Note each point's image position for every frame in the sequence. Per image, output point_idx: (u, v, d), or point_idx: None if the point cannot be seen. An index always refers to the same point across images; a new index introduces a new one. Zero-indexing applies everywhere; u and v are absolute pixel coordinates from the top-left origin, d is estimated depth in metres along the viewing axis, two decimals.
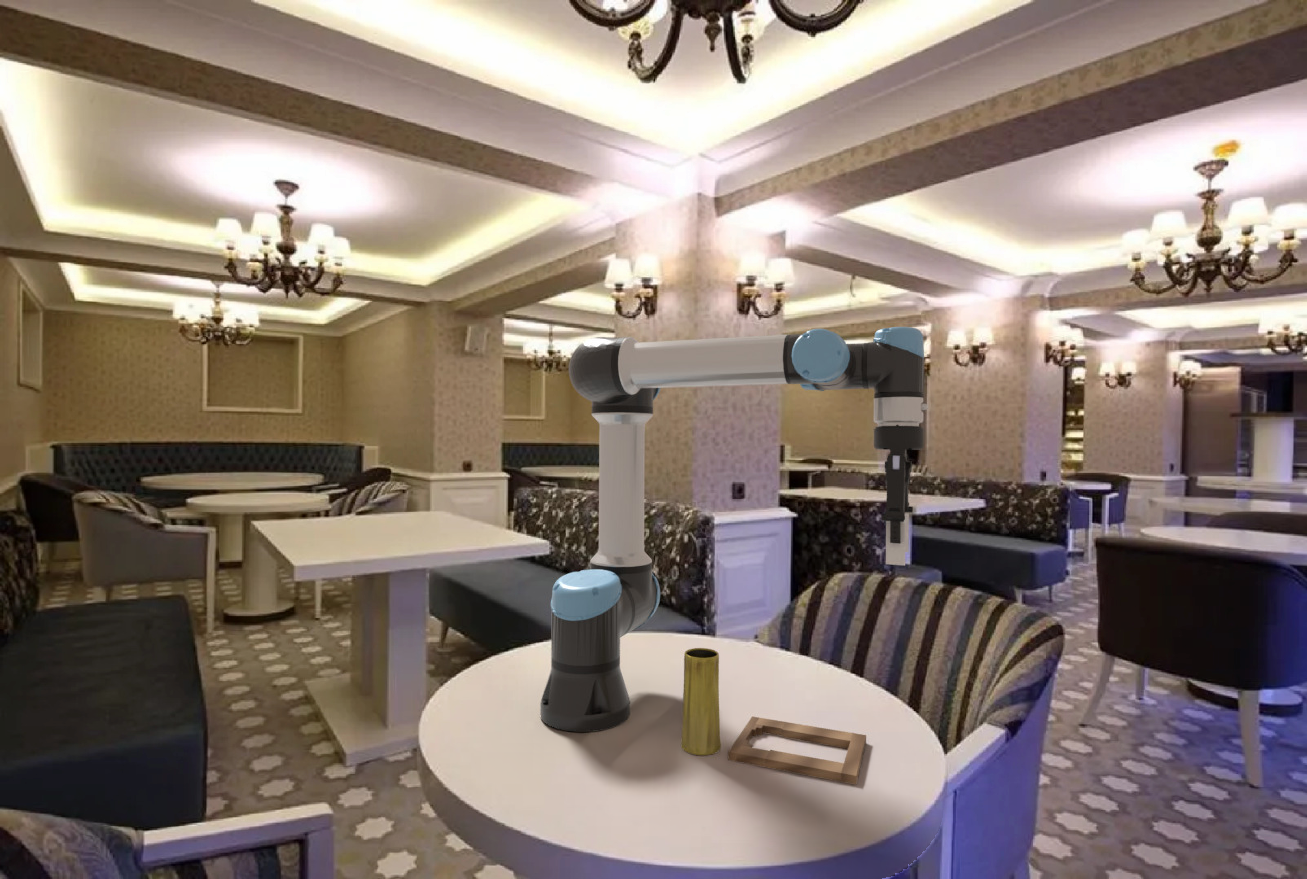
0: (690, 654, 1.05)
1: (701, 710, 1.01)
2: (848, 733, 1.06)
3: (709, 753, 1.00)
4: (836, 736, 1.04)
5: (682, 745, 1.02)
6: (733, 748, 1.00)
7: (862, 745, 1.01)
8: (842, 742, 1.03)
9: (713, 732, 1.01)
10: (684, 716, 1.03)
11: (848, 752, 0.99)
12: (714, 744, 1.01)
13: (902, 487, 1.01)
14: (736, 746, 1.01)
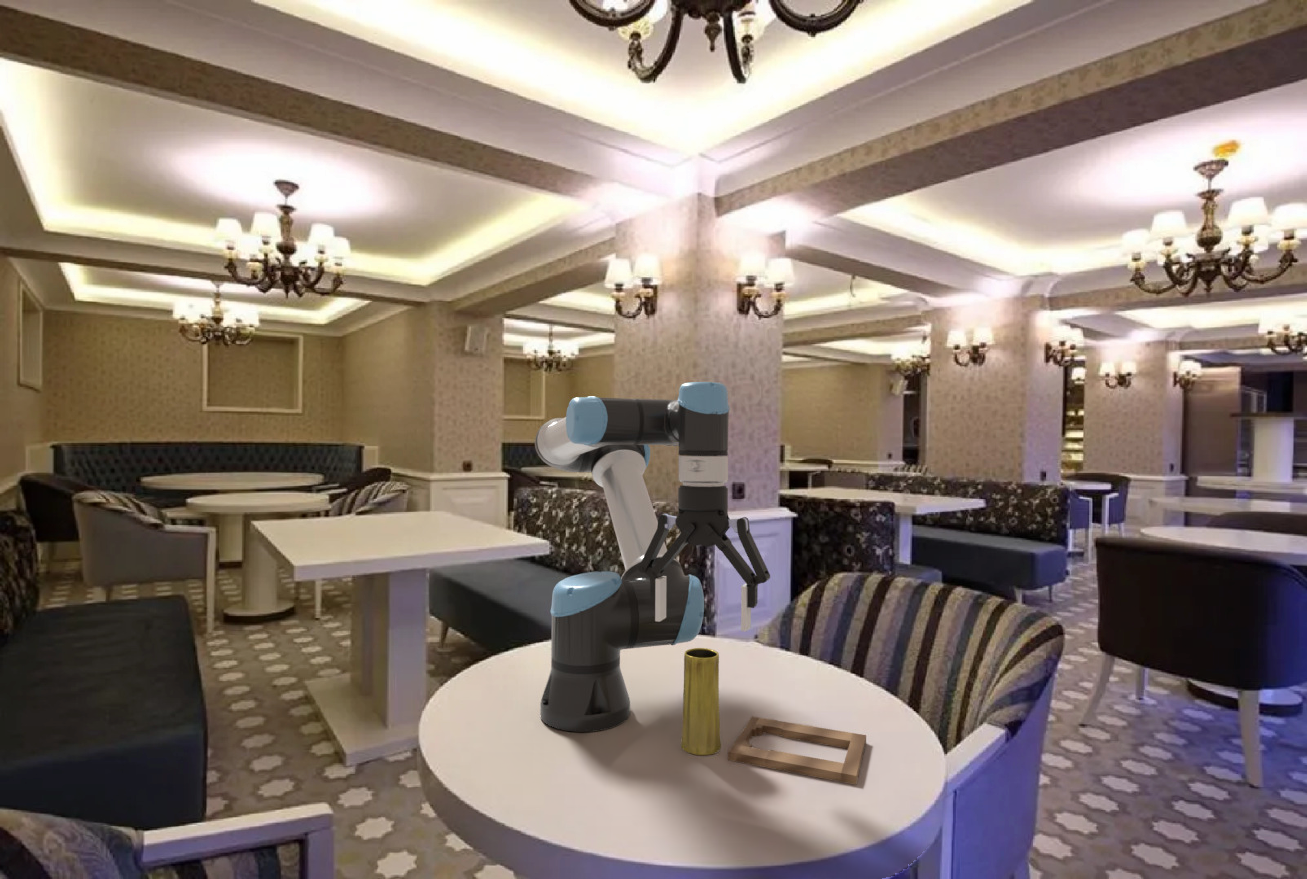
0: (690, 654, 1.05)
1: (701, 710, 1.01)
2: (848, 733, 1.06)
3: (709, 753, 1.00)
4: (836, 736, 1.04)
5: (682, 745, 1.02)
6: (733, 748, 1.00)
7: (862, 745, 1.01)
8: (842, 742, 1.03)
9: (713, 732, 1.01)
10: (684, 716, 1.03)
11: (848, 752, 0.99)
12: (714, 744, 1.01)
13: (650, 544, 1.06)
14: (736, 746, 1.01)
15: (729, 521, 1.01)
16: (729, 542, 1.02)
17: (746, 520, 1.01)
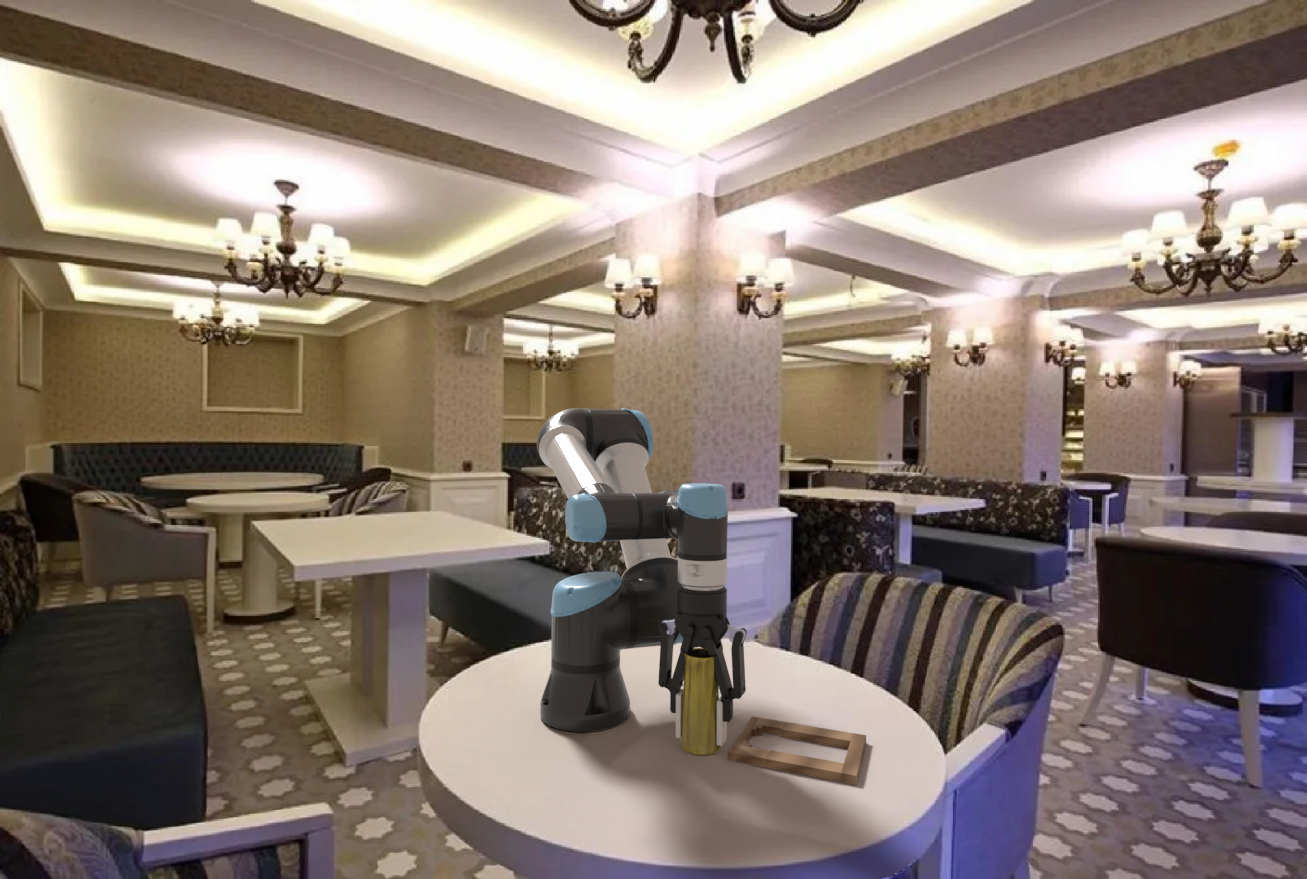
0: None
1: (701, 710, 1.01)
2: (848, 733, 1.06)
3: (709, 753, 1.00)
4: (836, 736, 1.04)
5: (682, 745, 1.02)
6: (733, 748, 1.00)
7: (862, 745, 1.01)
8: (842, 742, 1.03)
9: (713, 732, 1.01)
10: (684, 716, 1.03)
11: (848, 752, 0.99)
12: (714, 744, 1.01)
13: (660, 655, 1.05)
14: (736, 746, 1.01)
15: (728, 628, 1.01)
16: (720, 649, 1.03)
17: (744, 634, 1.01)
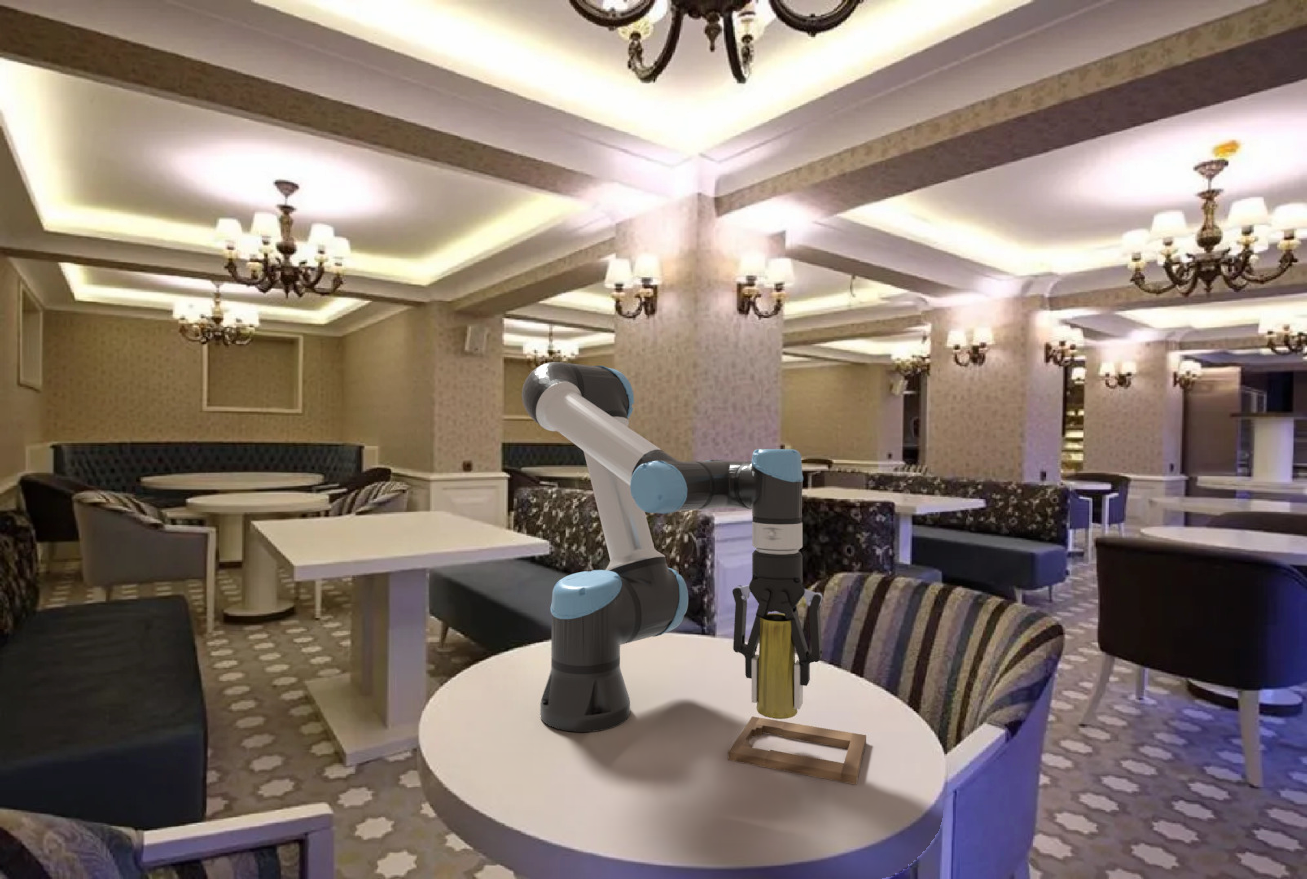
0: None
1: (779, 674, 1.01)
2: (848, 733, 1.06)
3: (787, 716, 1.00)
4: (836, 736, 1.04)
5: (759, 709, 1.02)
6: (733, 748, 1.00)
7: (862, 745, 1.01)
8: (842, 742, 1.03)
9: (790, 696, 1.01)
10: (760, 680, 1.02)
11: (848, 752, 0.99)
12: (791, 708, 1.01)
13: None
14: (736, 746, 1.01)
15: (805, 592, 1.01)
16: (796, 614, 1.03)
17: (822, 597, 1.01)
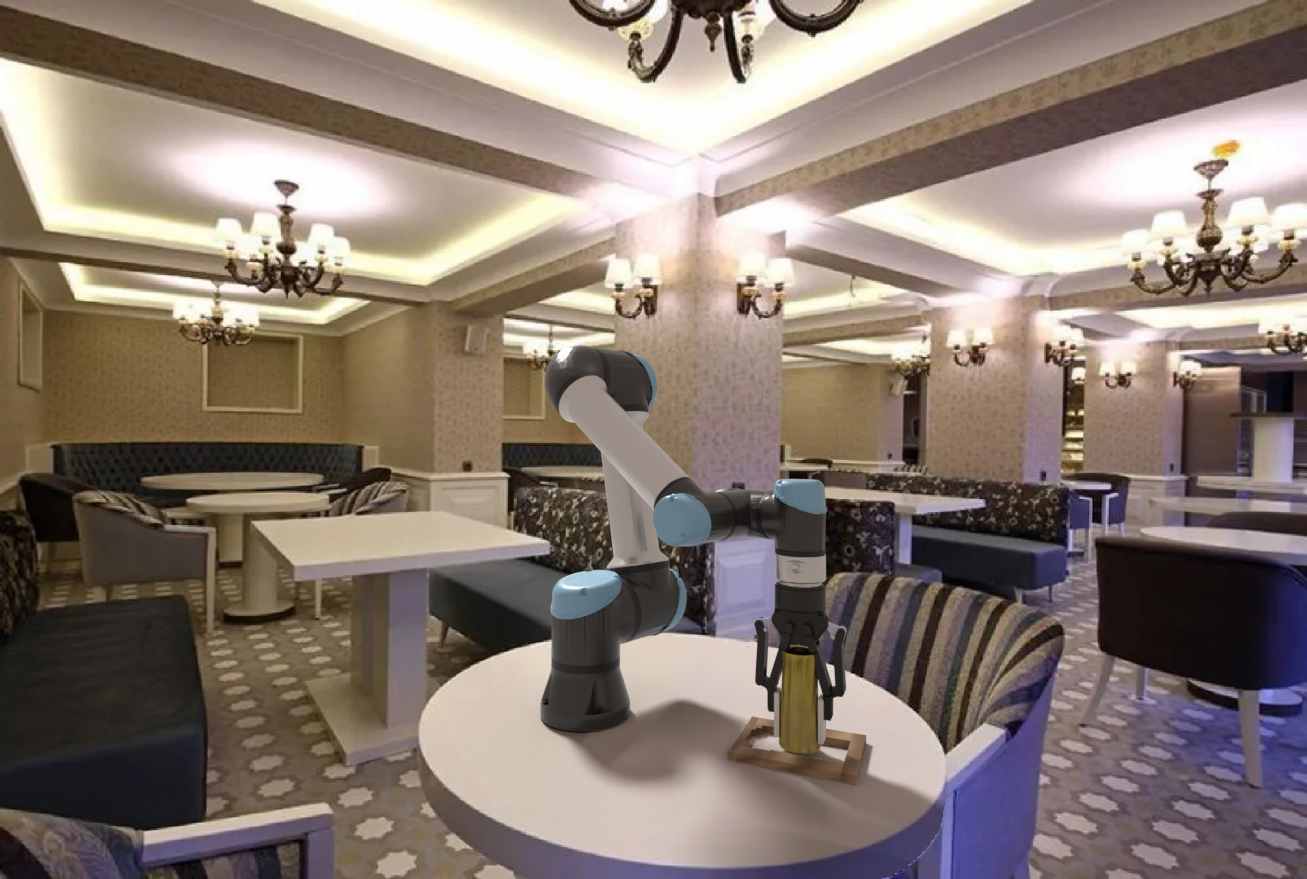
0: None
1: (802, 708, 0.99)
2: (848, 733, 1.06)
3: (810, 752, 0.99)
4: (836, 736, 1.04)
5: (781, 744, 1.01)
6: (733, 748, 1.00)
7: (862, 745, 1.01)
8: (842, 742, 1.03)
9: (814, 731, 1.00)
10: (783, 715, 1.01)
11: (848, 752, 0.99)
12: (815, 743, 1.00)
13: None
14: (736, 746, 1.01)
15: (829, 625, 1.00)
16: (819, 647, 1.01)
17: (846, 631, 0.99)
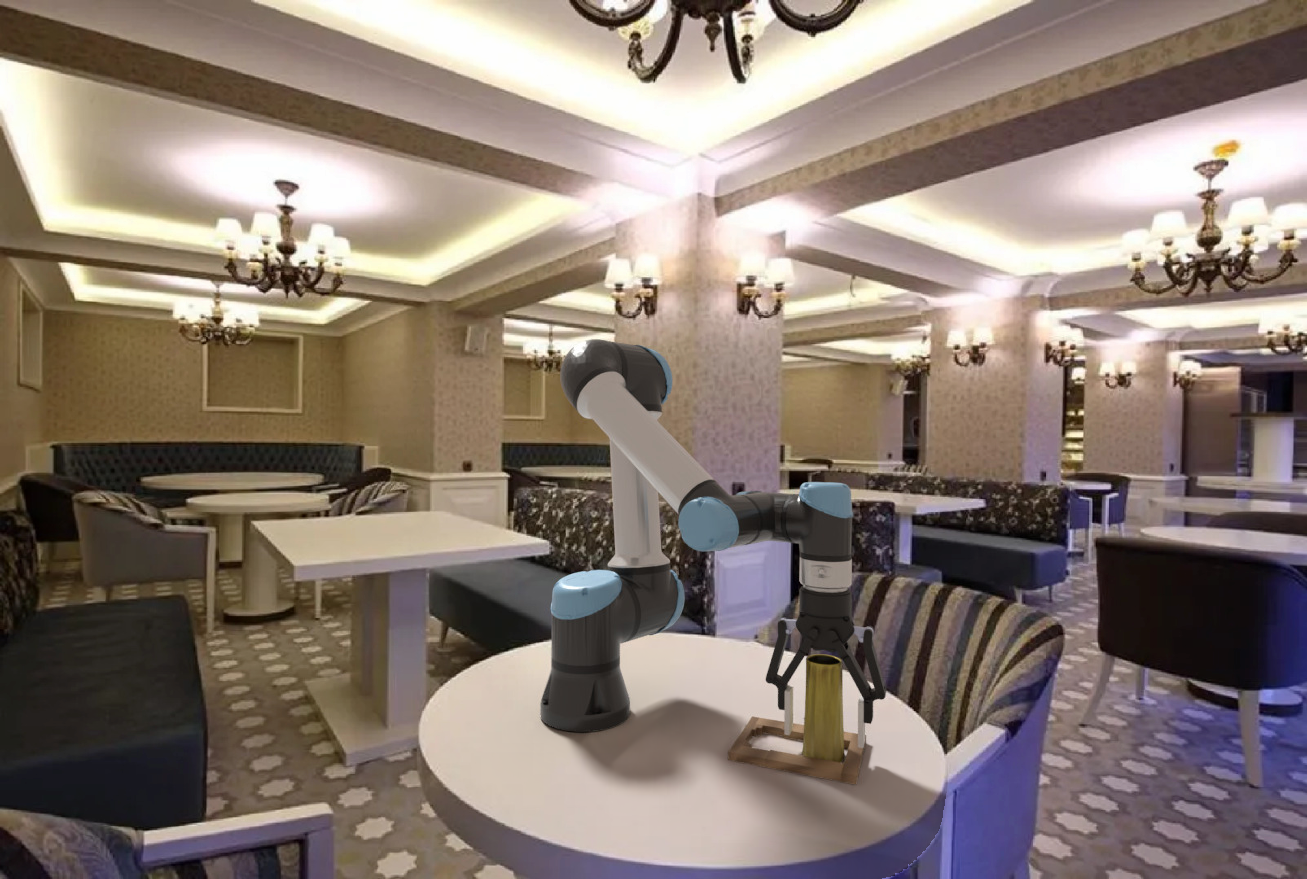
0: (810, 660, 1.02)
1: (827, 718, 0.98)
2: (848, 733, 1.06)
3: None
4: None
5: (805, 754, 1.00)
6: (733, 748, 1.00)
7: None
8: None
9: (838, 741, 0.98)
10: (807, 724, 1.00)
11: (848, 752, 0.99)
12: (839, 753, 0.98)
13: (773, 652, 1.03)
14: (736, 746, 1.01)
15: (855, 629, 0.99)
16: (849, 650, 1.00)
17: (873, 631, 0.98)
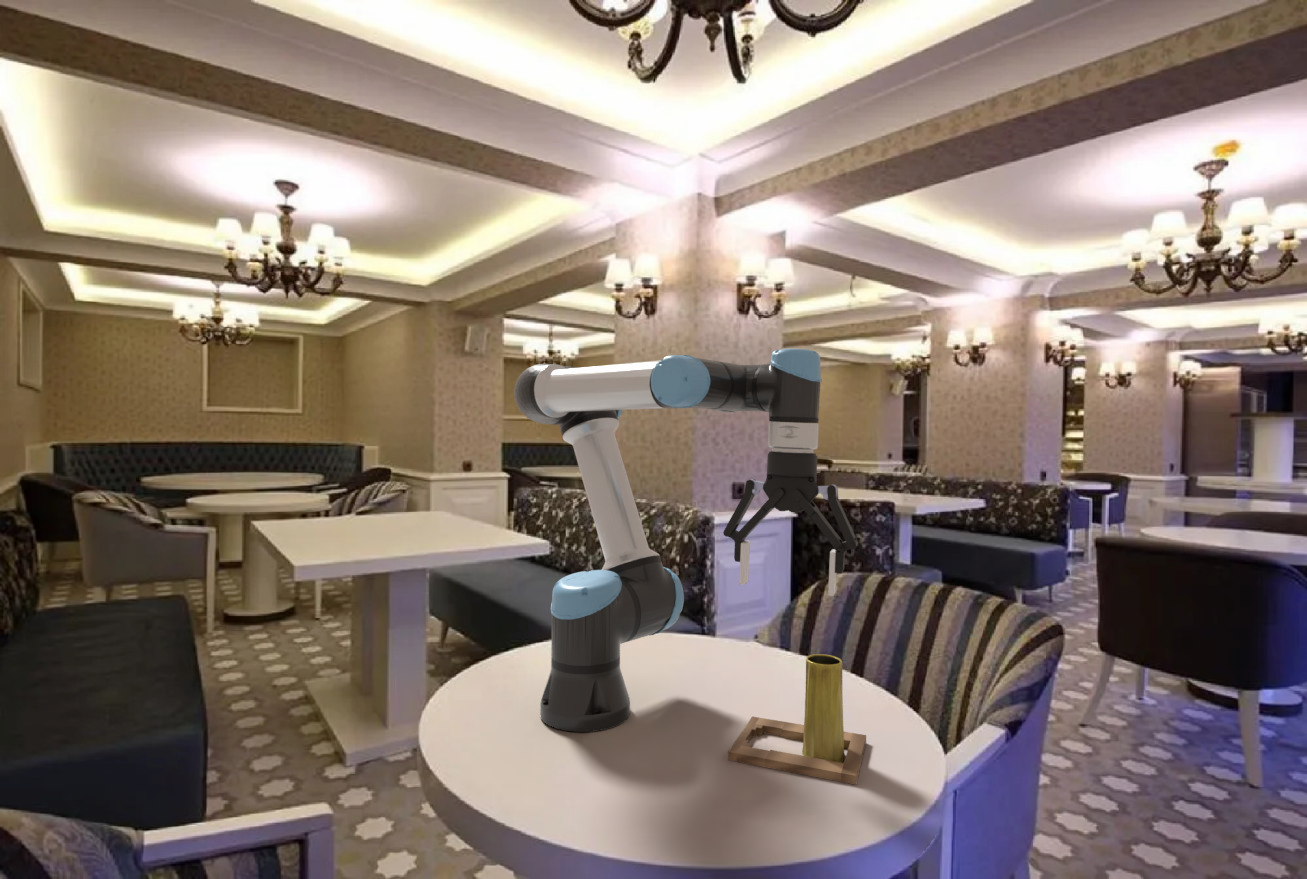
0: (810, 660, 1.02)
1: (827, 718, 0.98)
2: (848, 733, 1.06)
3: None
4: None
5: (805, 754, 1.00)
6: (733, 748, 1.00)
7: (862, 745, 1.01)
8: None
9: (838, 741, 0.98)
10: (807, 724, 1.00)
11: (848, 752, 0.99)
12: (839, 753, 0.98)
13: (736, 508, 1.07)
14: (736, 746, 1.01)
15: (819, 488, 1.02)
16: (817, 509, 1.03)
17: (836, 487, 1.02)
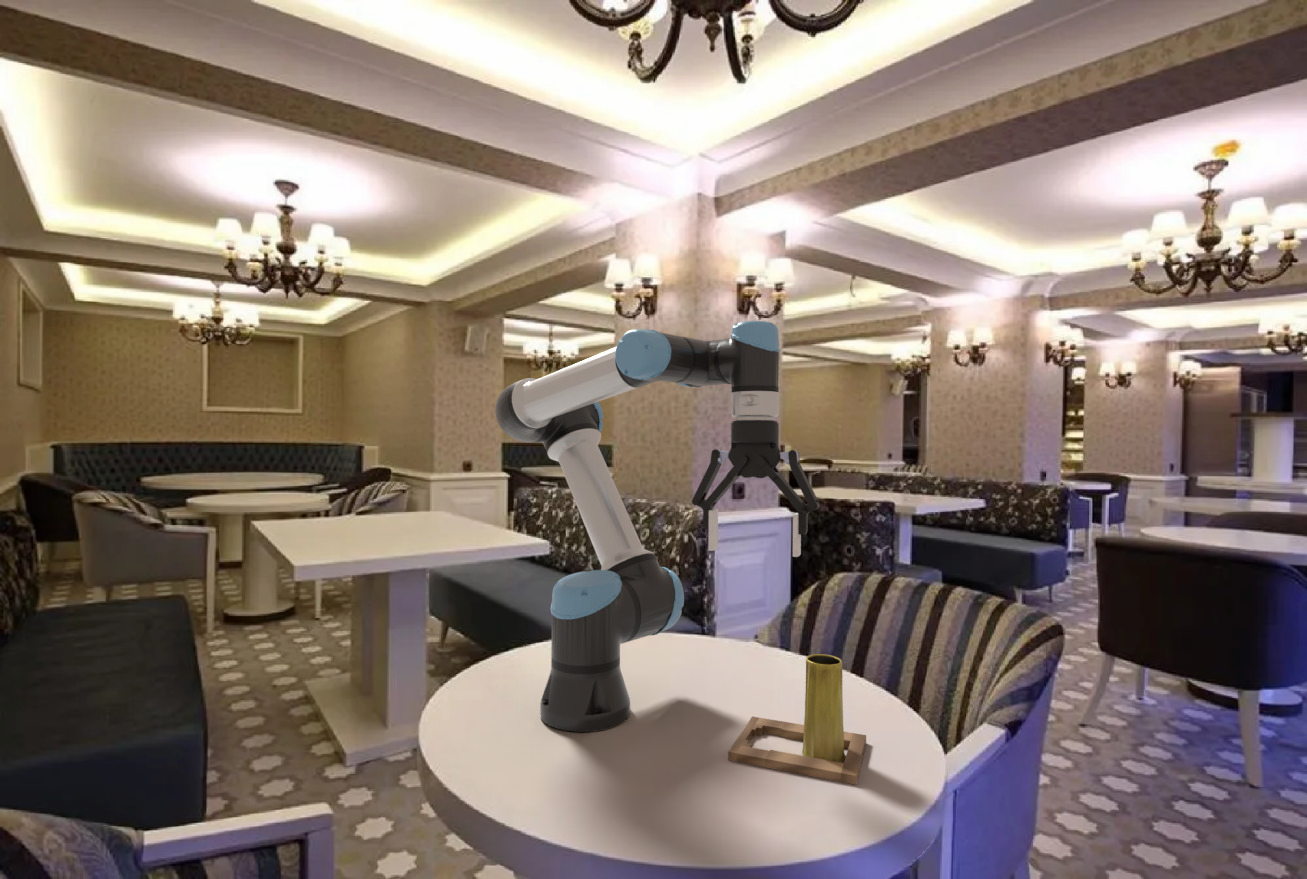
0: (810, 660, 1.02)
1: (827, 718, 0.98)
2: (848, 733, 1.06)
3: None
4: None
5: (805, 754, 1.00)
6: (733, 748, 1.00)
7: (862, 745, 1.01)
8: None
9: (838, 741, 0.98)
10: (807, 724, 1.00)
11: (848, 752, 0.99)
12: (839, 753, 0.98)
13: (703, 477, 1.11)
14: (736, 746, 1.01)
15: (780, 453, 1.06)
16: (779, 474, 1.07)
17: (797, 452, 1.06)
